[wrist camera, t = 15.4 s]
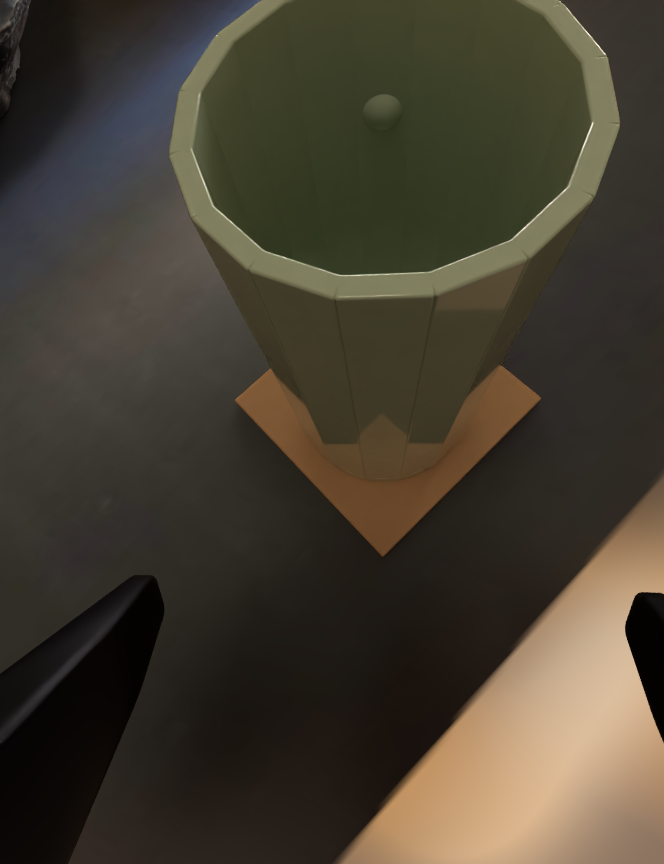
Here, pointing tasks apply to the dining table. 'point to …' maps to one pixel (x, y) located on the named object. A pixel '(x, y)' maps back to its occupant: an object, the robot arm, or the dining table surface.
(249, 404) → the coaster
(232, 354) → the dining table surface
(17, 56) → the dark stone plate
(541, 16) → the green faceted mug
